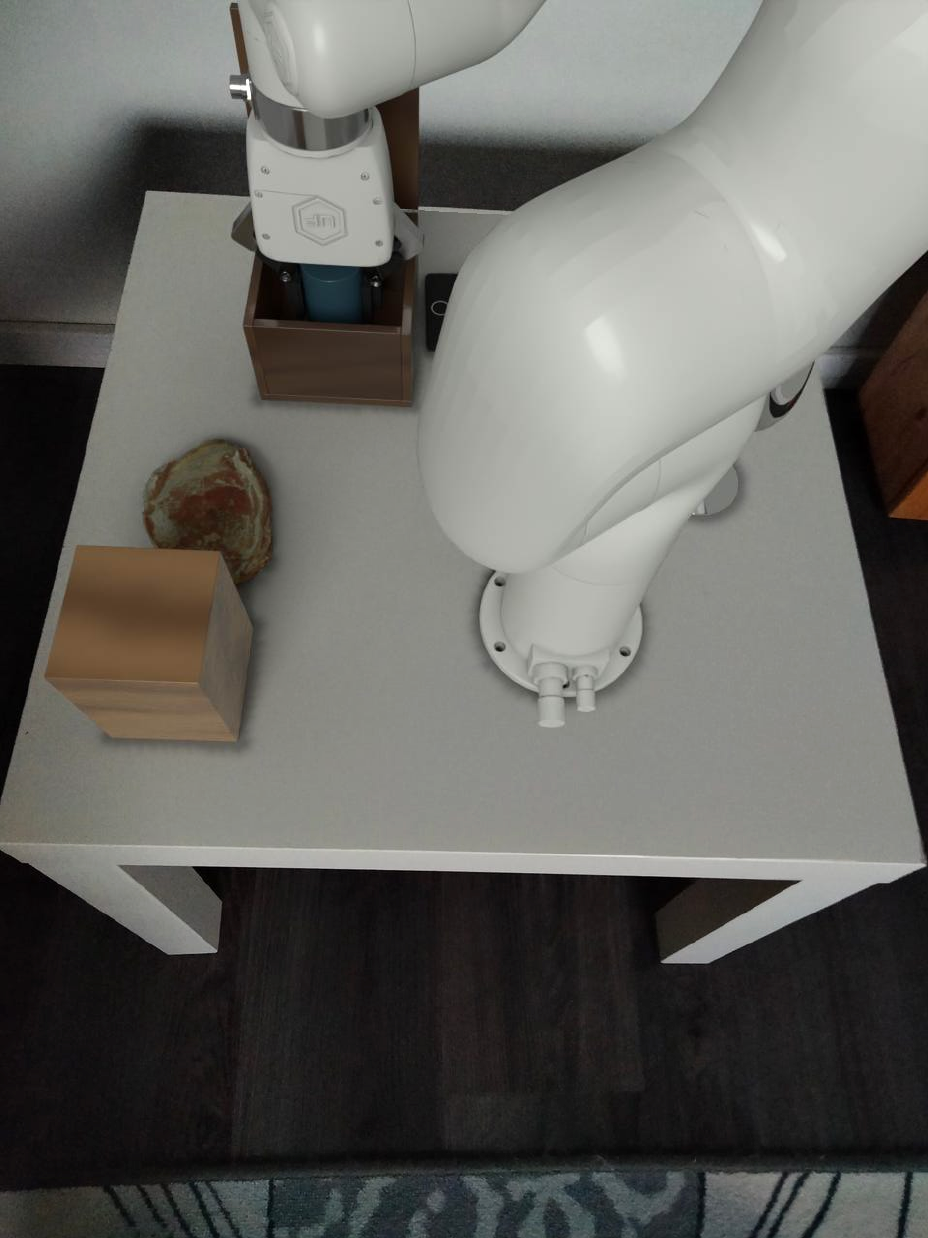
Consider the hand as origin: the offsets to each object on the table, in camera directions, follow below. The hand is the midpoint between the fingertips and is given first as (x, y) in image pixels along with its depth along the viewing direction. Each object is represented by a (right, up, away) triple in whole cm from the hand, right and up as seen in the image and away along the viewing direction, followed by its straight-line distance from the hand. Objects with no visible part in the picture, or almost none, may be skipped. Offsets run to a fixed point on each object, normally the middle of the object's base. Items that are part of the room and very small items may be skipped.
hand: (336, 307), depth 71 cm
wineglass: (+30, -15, +1) cm, 34 cm away
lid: (+1, +12, -7) cm, 14 cm away
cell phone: (+16, +2, +8) cm, 18 cm away
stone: (-10, -18, -3) cm, 21 cm away
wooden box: (0, -1, +5) cm, 5 cm away
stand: (-10, -31, -9) cm, 34 cm away
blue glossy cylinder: (0, -1, +2) cm, 2 cm away
